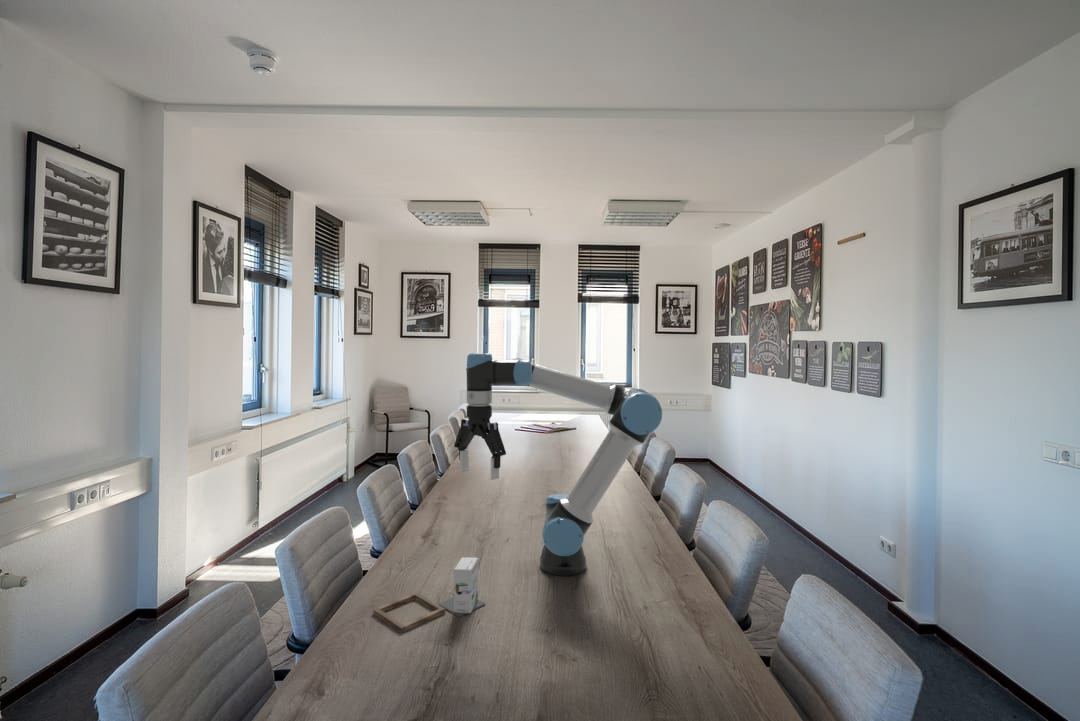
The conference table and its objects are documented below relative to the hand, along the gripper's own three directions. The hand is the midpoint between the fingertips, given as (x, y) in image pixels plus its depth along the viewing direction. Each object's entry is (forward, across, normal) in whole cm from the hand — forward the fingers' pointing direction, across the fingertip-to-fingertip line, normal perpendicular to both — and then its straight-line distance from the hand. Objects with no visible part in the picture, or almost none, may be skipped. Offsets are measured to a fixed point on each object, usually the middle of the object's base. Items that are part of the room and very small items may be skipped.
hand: (479, 475), depth 157 cm
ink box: (+32, +9, -13) cm, 36 cm away
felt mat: (+32, +7, -13) cm, 36 cm away
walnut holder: (+32, 0, -25) cm, 41 cm away
